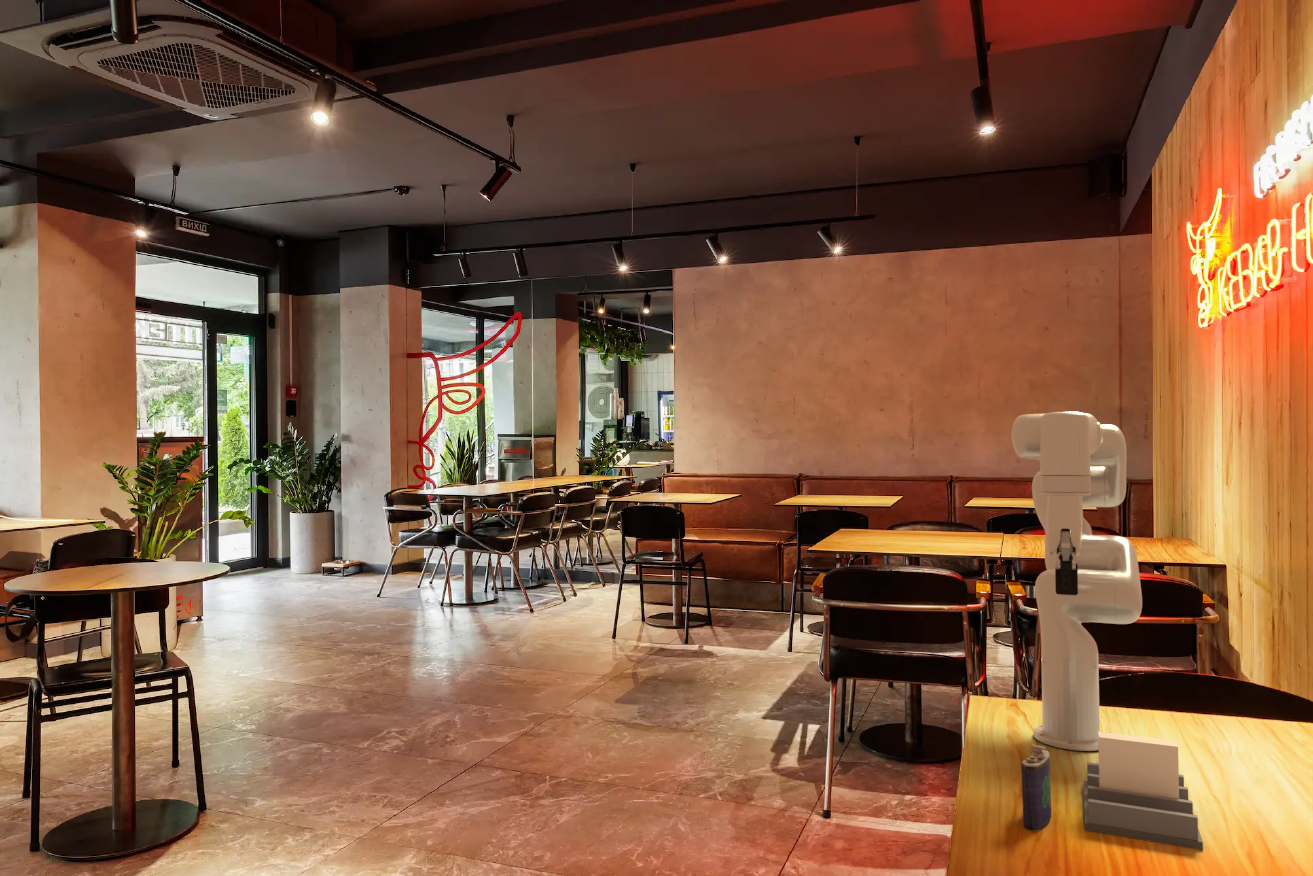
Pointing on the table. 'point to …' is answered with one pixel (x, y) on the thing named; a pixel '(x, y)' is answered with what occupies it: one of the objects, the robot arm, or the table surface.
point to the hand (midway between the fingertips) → (1067, 590)
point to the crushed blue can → (1036, 789)
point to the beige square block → (1138, 764)
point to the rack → (1140, 814)
